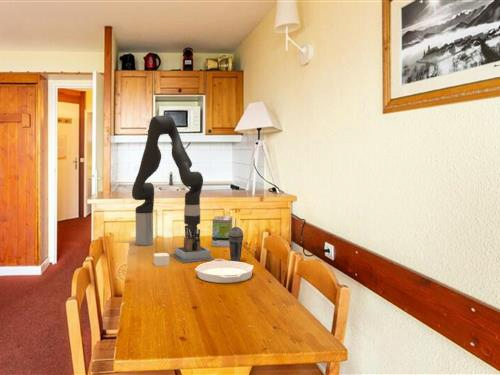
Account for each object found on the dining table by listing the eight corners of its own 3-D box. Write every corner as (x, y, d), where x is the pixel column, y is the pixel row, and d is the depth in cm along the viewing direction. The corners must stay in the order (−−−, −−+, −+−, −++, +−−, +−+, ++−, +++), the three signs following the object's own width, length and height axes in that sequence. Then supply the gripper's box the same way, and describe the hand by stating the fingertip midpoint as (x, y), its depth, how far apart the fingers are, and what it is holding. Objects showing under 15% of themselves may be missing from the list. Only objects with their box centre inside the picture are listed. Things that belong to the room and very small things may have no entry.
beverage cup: (244, 258, 209) (244, 216, 207) (242, 262, 202) (243, 219, 200) (229, 258, 210) (229, 216, 208) (226, 261, 202) (227, 218, 201)
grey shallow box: (170, 255, 214) (170, 247, 214) (200, 251, 222) (200, 244, 222) (182, 263, 199) (182, 254, 198) (215, 259, 206) (215, 251, 206)
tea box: (230, 247, 234) (230, 219, 233) (211, 246, 235) (211, 219, 233) (232, 241, 249) (232, 215, 248) (214, 241, 250) (214, 215, 248)
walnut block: (183, 250, 211) (183, 237, 211) (195, 248, 214) (195, 236, 214) (188, 252, 206) (188, 239, 206) (200, 251, 209) (200, 238, 208)
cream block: (153, 263, 199) (153, 253, 198) (166, 262, 201) (166, 252, 200) (155, 266, 193) (155, 256, 193) (169, 265, 195) (169, 255, 195)
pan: (199, 287, 164) (199, 277, 164) (190, 269, 190) (190, 260, 190) (262, 283, 171) (263, 273, 170) (244, 266, 197) (245, 257, 196)
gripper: (179, 212, 213) (179, 246, 214) (190, 216, 201) (190, 252, 202) (194, 211, 217) (193, 245, 218) (205, 215, 204) (205, 251, 206)
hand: (192, 248), depth 210 cm, fingers closed on walnut block, 6 cm apart
